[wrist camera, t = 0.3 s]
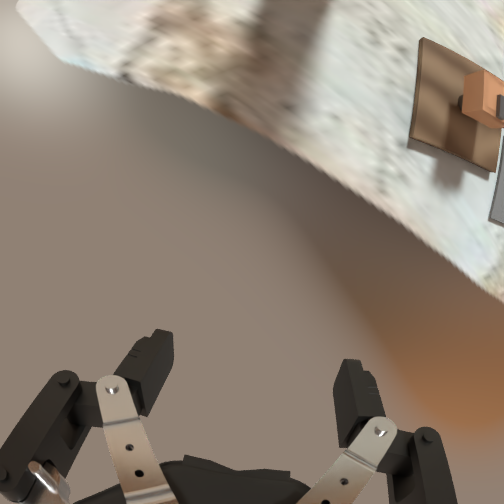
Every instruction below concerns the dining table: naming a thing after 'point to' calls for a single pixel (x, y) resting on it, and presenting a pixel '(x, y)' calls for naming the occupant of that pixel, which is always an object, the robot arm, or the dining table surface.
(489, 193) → the dining table surface
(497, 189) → the mat
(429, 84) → the brown board
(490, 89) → the tan cube with tab
